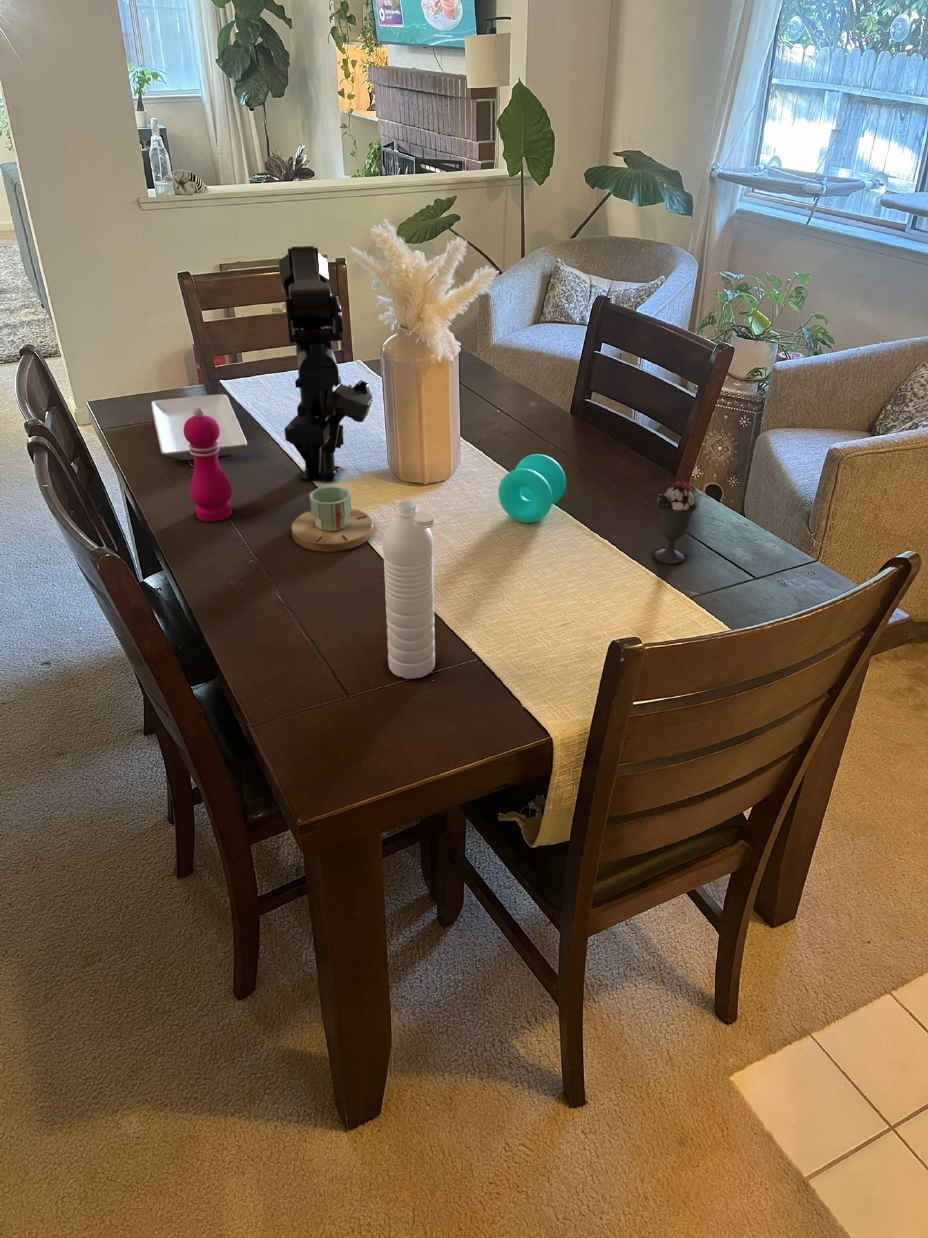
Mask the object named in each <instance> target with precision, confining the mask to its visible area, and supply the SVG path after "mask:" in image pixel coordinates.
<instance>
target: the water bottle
mask: <svg viewBox="0 0 928 1238" xmlns="http://www.w3.org/2000/svg"><path fill="white" fill-rule="evenodd" d="M395 512H396V516H395V517H394V518H393V520H392V521H391V523H390V524H389V525H388V527H387V528H386V529H385V531H384V533H383V538H382V551H383V552H382V553H383V566H384V567H383V571H384V589H385V590H384V592H385V593H384V600H385V615H386V621H385V622H386V626H387V628H386V635H387V636H386V637H387V663H388V668H389V670H390V671H391V672H392V674H393V675H395V676H397V677H399V678H403V679H407V680H413V679H420V678H423V677H426V676H428V674H431V673H432V672H433V671H434V669H435V666H436V651H435V650H436V641H435V636H436V634H435V633H436V631H435V630H436V629H435V622H436V621H435V588H434V587H435V576H434V570H435V569H434V548H435V547H434V545H435V544H434V536H433V534H432V531H431V529H430V528H433V526H434V524H435V523H434V520H435V519H434V515H432V514H431V513H427V512H420V513H419V509H418V508H417V504H416V503H415V502H414V501H411V500H403V501H400V502H399V503H398V504H397V508H396V510H395Z"/></svg>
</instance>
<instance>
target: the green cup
mask: <svg viewBox="0 0 928 1238" xmlns="http://www.w3.org/2000/svg"><path fill="white" fill-rule="evenodd" d="M308 495H309V505H310V511H311V514H312V515H313V516H314V520H315V525H316V526H317V527H318V528H319V529H322V530H326V531H335V530H340V529H343V528H344V527H346V526H347V525H348V524H349V513H350V512H351V508H352V502H351V499H352V498H351V493H350V490H348V489H346V488H344V487H342V486H335V485H334V486H333V485H328V486H327V485H326V486H321V487H317V488H315V489H314V490H312V491H311V492H310V493H309V494H308Z"/></svg>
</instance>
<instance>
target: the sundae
mask: <svg viewBox="0 0 928 1238" xmlns="http://www.w3.org/2000/svg"><path fill="white" fill-rule="evenodd" d="M691 474H693V472H692V471H687V474H686V476H685V478H683V479H682V480H681V481H676V482H675V484H674V485H672V486H670V487H669V488H668V489H667V490H666V492H665V493H659V494H658V497H657V498H656V504H657V507H658V508H659V511H660V513H659V514H660V518H659V519H660V524H659V525H660V531H661V532H660V533H662V535H663V537H665V538H666V539H667V545H666V548H661V549H658V550H657V551H655V553H654V554H653V556H654V558H655V559H656V560H657V561H658V562H660V563H663V564H667V565H676V564H680V563H682V562H684V560H685V556H684V554H683V553H682V552H680V551H679V550H677V549H675V543H676V541H677V540H678V539H681V538H682V537H683V536H685V534H686V532H687V529H688V527H689V523H690V520H691V518H692V515H693V513H694V512H695V510H697V508H698V506H699V503H698V501H696V500H695V497H694V495H693V493H692V492H691V489H692V487H691V485H689V481H690V480H689V479H690V475H691ZM686 479H687V482H686V483H687V484H684V483H683V482H684V481H685V480H686Z"/></svg>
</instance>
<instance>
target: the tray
mask: <svg viewBox="0 0 928 1238" xmlns="http://www.w3.org/2000/svg"><path fill="white" fill-rule="evenodd" d="M150 403H151V404H150V405H151V411H152V416H153V422H154V427H155V431H156V435H157V440H158V444H159V448H160V452H161V454H162V455H164V456H166V457H169V458H175V459H177V460H179V461H189V460H194V458H193V455H192V454H191V453H190V448H189V444H190V443H189V442H188V441H187V440H186V438H185V436H184V431H183V430H184V425H185V423H186V421H187V420H188V419H189V418H191V417H193V416H194V409H195V408H198V407H199V408H202V409H203V410H204V415H206V416H210V417H212V418H213V419H214V420H215V421H216V422H217V424H218V426H219V429H220V435H219V438H218V439H217V440H216V441H217V442H218V443H219V445H218V447H219V452H218V453H217V454H218V457H223V456H230V455H232V454H233V453H234V452H236V451H239V450H241V449H242V448H245V447H246V446H247V445H248V441H247V439H246V437H245V435H244V432H243V430H242V428H241V425H240V422H239V419H238V418H237V415H236V413H235V410H234V408H233V407H232V404H231V402H230V399H229V397H228V395H227V394H223V393H221V394H210V395H199V396H187V397H178V398H168V399H167V398H166V399H157V400H152V401H151V402H150Z"/></svg>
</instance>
